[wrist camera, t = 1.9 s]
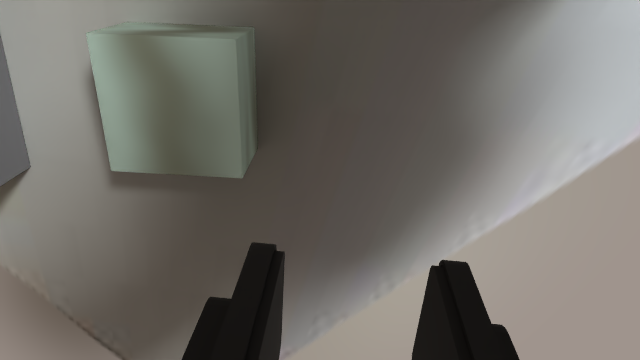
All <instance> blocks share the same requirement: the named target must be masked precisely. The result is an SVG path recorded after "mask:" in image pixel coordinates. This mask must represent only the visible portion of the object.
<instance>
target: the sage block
mask: <svg viewBox="0 0 640 360" xmlns="http://www.w3.org/2000/svg"><path fill="white" fill-rule="evenodd" d="M86 37H87V42H88V48H89V53H90V59H91V64H92V69H93V75H94V80H95V86H96V91H97V97H98V102H99V108H100V113H101V118H102V124H103V129H104V135H105V140H106V146H107V151H108V156H109V162H110V167H111V171H120V172H137V173H155V174H173V175H190V176H208V177H226V178H243V176H244V174H245V172H246V170H247V168H248V166H249V165H250V163H251V161H252V159H253V157H254V155H255V153H256V151H257V149H258V137H257V103H256V69H255V35H254V27H233V26H209V25H185V24H161V23H137V22H126V23H122V24H118V25H114V26H111V27H107V28H103V29H99V30H95V31H92V32H88V33H86Z"/></svg>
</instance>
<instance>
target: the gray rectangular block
mask: <svg viewBox="0 0 640 360" xmlns="http://www.w3.org/2000/svg"><path fill="white" fill-rule="evenodd" d="M28 168H30V162H29V158H28V154H27V149H26V145H25V141H24V136H23V132H22V128H21V123H20V119H19V115H18V110H17V106H16V101H15V97H14V93H13V88H12V84H11V80H10V75H9V71H8V67H7V62H6V58H5V54H4V49H3V45H2V40H1V36H0V186H1V185H3V184H4V183H6V182H8V181H9V180H11V179H12V178H14V177H15V176H17V175H19V174H20V173H22V172H23V171H25V170H27V169H28Z"/></svg>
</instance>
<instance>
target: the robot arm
mask: <svg viewBox="0 0 640 360" xmlns="http://www.w3.org/2000/svg"><path fill="white" fill-rule="evenodd" d="M284 259H285V253H284V252H282V251H276V245H275V244H264V243H251V246H250V248H249V251H248V254H247V257H246V260H245V262H244V265H243V268H242V271H241V273H240V276H239V279H238V282H237V285H236V287H235V290H234V293H233V296H232V299H227V298H217V297H210V298H209V299H208V300H207V302H206V304H205V306H204V309H203V311H202V313H201V316H200V318H199V320H198V323H197V325H196V327H195V330H194V332H193V334H192V337H191V339H190V341H189V344H188V346H187V348H186V351H185V353H184V355H183V358H182V360H279V355H280V347H281V333H282V309H283V284H284ZM412 360H519V357H518V355H517V353H516V350H515V348H514V346H513V343H512V341H511V338H510V336H509V334H508V332H507V330H506V329H505V327H504V326H502V325H498V324H491V321H490V319H489V316H488V314H487V311H486V308H485V306H484V303H483V301H482V298H481V296H480V293H479V290H478V288H477V286H476V283H475V280H474V277H473V275H472V272H471V270H470V267H469V265H468V263H466V262H459V261H448V260H441V261H440V263H439V266H433V265H432V266H431V268H430V272H429V277H428V281H427V286H426V291H425V296H424V301H423V305H422V310H421V314H420V319H419V324H418V329H417V333H416V338H415V343H414V347H413V353H412Z"/></svg>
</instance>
